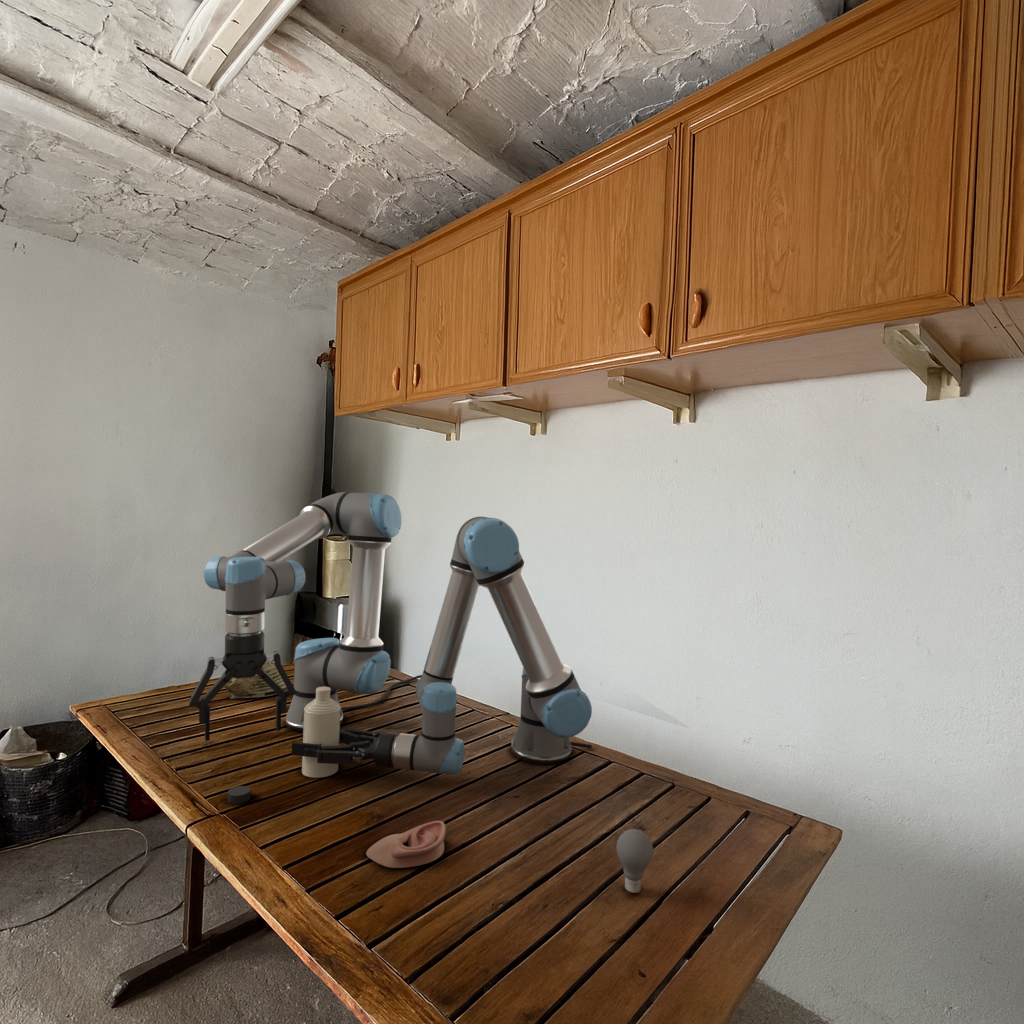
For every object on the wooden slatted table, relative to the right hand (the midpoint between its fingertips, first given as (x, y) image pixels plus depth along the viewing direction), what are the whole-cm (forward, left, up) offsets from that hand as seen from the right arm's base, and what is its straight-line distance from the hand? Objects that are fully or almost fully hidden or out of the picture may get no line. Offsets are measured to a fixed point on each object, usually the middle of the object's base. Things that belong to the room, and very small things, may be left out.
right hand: (301, 741), depth 147 cm
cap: (+12, +13, -5) cm, 18 cm away
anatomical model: (-19, +40, -6) cm, 45 cm away
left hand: (+12, +12, +7) cm, 18 cm away
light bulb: (-54, +60, -6) cm, 81 cm away
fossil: (+15, -58, -6) cm, 60 cm away
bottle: (-4, +2, -6) cm, 8 cm away
